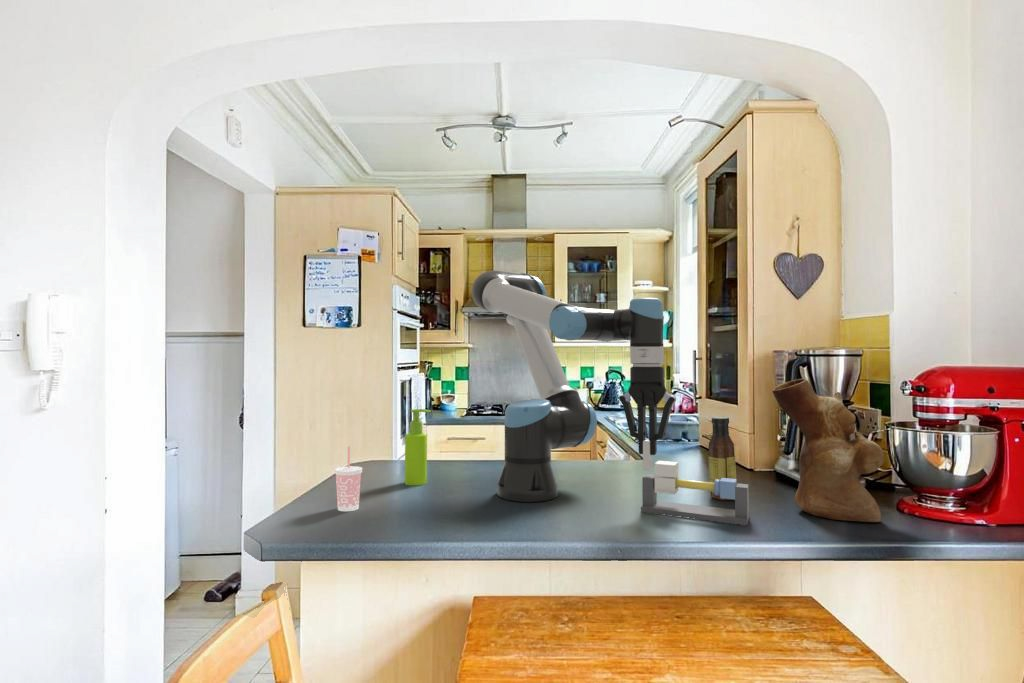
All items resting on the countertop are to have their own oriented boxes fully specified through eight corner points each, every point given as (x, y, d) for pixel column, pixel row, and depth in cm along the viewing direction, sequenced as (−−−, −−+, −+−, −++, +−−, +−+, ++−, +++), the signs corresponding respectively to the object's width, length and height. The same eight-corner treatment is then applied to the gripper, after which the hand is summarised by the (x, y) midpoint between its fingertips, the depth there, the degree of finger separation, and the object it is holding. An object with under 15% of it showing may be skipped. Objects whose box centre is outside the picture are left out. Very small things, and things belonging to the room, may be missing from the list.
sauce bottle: (732, 495, 142) (732, 415, 143) (740, 501, 136) (739, 418, 136) (705, 494, 143) (705, 415, 143) (711, 501, 137) (711, 418, 137)
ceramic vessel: (895, 528, 116) (894, 381, 116) (780, 520, 121) (779, 379, 122) (867, 507, 131) (866, 378, 132) (765, 501, 136) (764, 376, 137)
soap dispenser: (428, 485, 151) (429, 410, 152) (402, 485, 151) (403, 410, 152) (432, 480, 157) (432, 408, 157) (407, 480, 157) (407, 408, 158)
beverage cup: (328, 510, 127) (329, 447, 127) (345, 503, 133) (345, 443, 133) (351, 513, 125) (352, 449, 125) (367, 506, 130) (368, 445, 131)
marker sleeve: (654, 492, 127) (654, 463, 127) (658, 488, 131) (658, 460, 131) (674, 494, 125) (674, 465, 125) (678, 490, 129) (678, 462, 129)
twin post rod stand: (640, 512, 127) (640, 474, 127) (647, 504, 133) (647, 469, 133) (746, 525, 117) (746, 485, 117) (749, 517, 123) (749, 478, 123)
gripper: (614, 365, 130) (615, 469, 129) (672, 366, 124) (673, 474, 123) (623, 365, 136) (624, 463, 136) (679, 365, 131) (680, 468, 130)
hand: (647, 468), depth 130 cm, fingers closed
